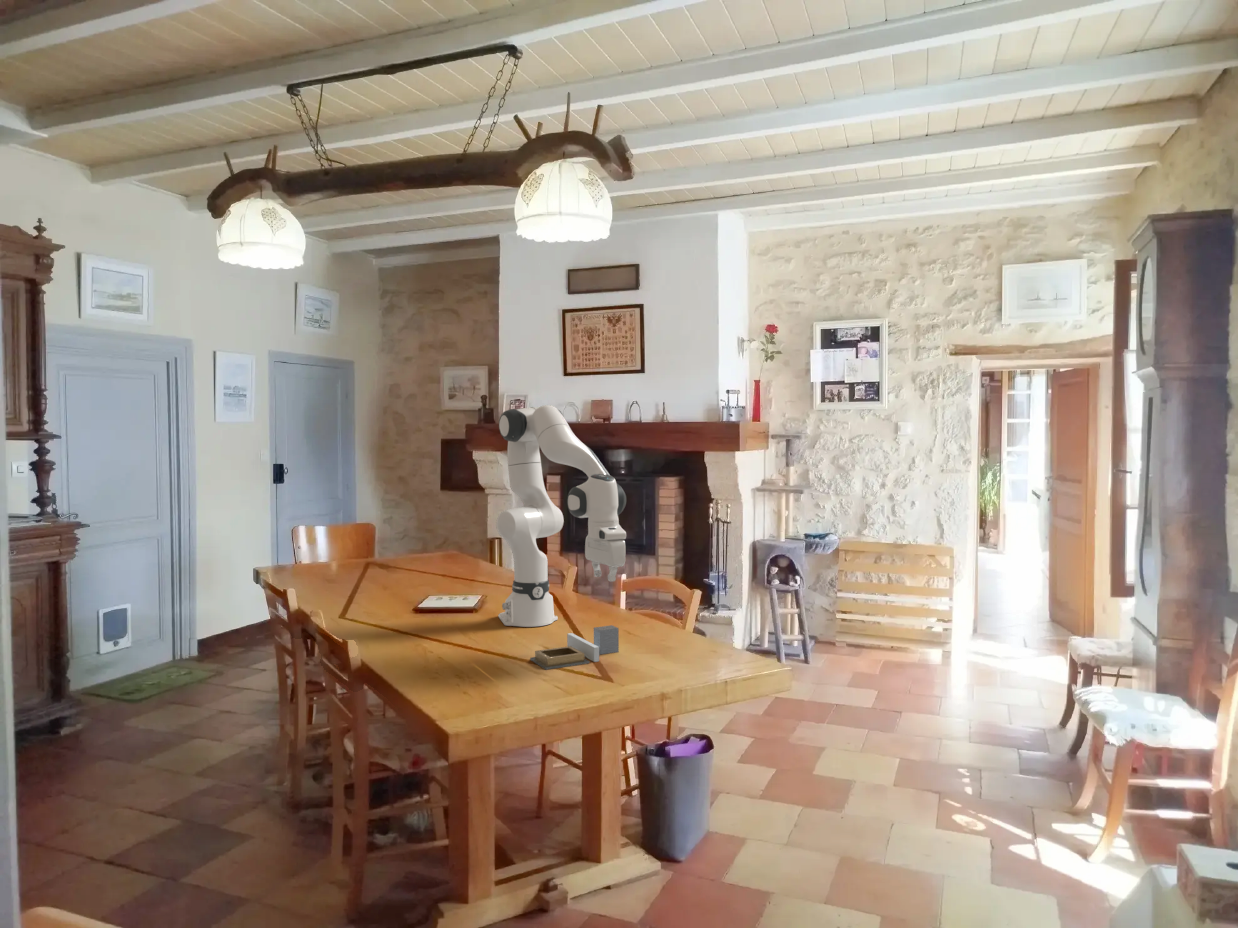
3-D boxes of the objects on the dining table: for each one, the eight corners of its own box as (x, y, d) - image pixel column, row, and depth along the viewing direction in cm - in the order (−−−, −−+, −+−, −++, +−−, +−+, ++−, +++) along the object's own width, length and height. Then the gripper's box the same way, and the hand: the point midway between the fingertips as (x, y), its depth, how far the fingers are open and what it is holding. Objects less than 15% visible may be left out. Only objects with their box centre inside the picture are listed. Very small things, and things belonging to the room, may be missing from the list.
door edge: (567, 646, 246) (567, 633, 246) (571, 646, 247) (571, 632, 247) (594, 661, 231) (594, 647, 230) (599, 661, 231) (599, 646, 231)
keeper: (530, 659, 233) (530, 650, 233) (572, 653, 239) (572, 644, 239) (545, 669, 223) (545, 660, 223) (589, 663, 229) (589, 653, 229)
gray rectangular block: (593, 651, 242) (593, 627, 241) (612, 648, 244) (612, 625, 244) (599, 654, 238) (599, 630, 238) (618, 652, 241) (618, 628, 241)
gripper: (579, 528, 248) (580, 574, 248) (608, 534, 230) (609, 584, 230) (598, 527, 251) (599, 573, 251) (629, 533, 232) (630, 582, 233)
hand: (604, 578), depth 240 cm, fingers open, 8 cm apart
